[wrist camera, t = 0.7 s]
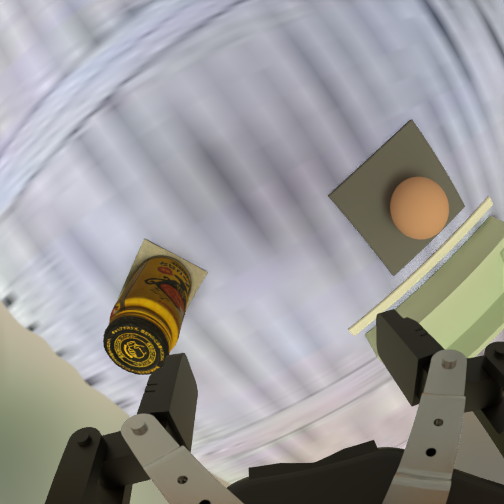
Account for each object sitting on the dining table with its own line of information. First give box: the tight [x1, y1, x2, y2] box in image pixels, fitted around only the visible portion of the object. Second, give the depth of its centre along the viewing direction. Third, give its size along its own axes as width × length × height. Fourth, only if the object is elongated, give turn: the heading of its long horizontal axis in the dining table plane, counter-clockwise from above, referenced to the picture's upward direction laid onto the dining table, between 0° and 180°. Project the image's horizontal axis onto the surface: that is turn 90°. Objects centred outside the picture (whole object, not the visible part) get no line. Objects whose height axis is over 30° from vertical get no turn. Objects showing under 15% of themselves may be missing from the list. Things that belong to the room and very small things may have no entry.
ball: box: [390, 177, 449, 240], centre depth 28 cm, size 6×6×6 cm
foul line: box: [348, 196, 493, 336], centre depth 34 cm, size 24×1×1 cm, turn 134°
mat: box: [328, 120, 465, 276], centre depth 31 cm, size 12×12×1 cm
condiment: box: [103, 239, 208, 375], centre depth 28 cm, size 7×8×12 cm
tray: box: [365, 216, 504, 364], centre depth 34 cm, size 22×13×4 cm, turn 134°
